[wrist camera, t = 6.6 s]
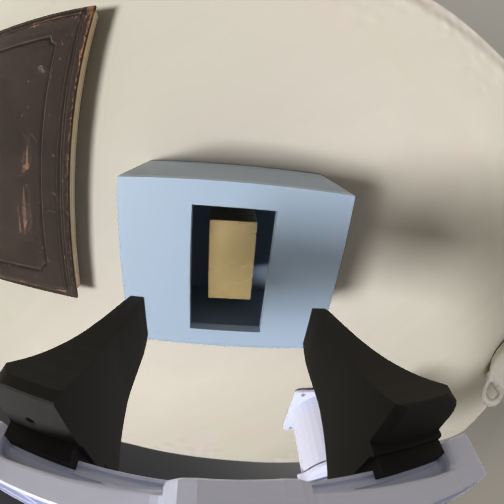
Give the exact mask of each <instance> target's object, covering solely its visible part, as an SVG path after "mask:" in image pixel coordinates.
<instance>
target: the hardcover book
mask: <svg viewBox="0 0 504 504" xmlns="http://www.w3.org/2000/svg"><path fill="white" fill-rule="evenodd" d="M95 10H96V6H89V7H84V8H78V9H73V10H69V11H64V12H60V13H56V14H52V15H48V16H44V17H41V18H37V19H34V20H31V21H27V22H24V23H21V24H18V25H15V26H12V27H10V28H7V29H4V30H2V31H0V279H2V280H6V281H10V282H13V283H17V284H21V285H25V286H28V287H32V288H36V289H40V290H44V291H49V292H53V293H57V294H62V295H66V296H70V297H75V298H77V297H78V292H77V288H78V287H79V286H80V275H79V266H78V256H77V243H76V227H75V158H76V142H77V130H78V120H79V111H80V103H81V96H82V89H83V83H84V77H85V72H86V67H87V62H88V57H89V52H90V48H91V43H92V39H93V35H94V31H95V28H96V24H97V20H98V17H99V15H97V12H95Z"/></svg>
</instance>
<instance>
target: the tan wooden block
mask: <svg viewBox="0 0 504 504" xmlns="http://www.w3.org/2000/svg"><path fill="white" fill-rule="evenodd" d="M256 232H257V219H256V214H255V210H254V209H247V208H235V207H222V206H213V209H212V214H211V218H210V233H209V275H208V298H227V299H250V297H251V286H252V275H253V265H254V254H255V243H256Z"/></svg>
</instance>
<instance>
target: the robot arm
mask: <svg viewBox="0 0 504 504" xmlns="http://www.w3.org/2000/svg"><path fill="white" fill-rule="evenodd" d="M147 337H148V329H147V320H146V311H145V301H144V297H140V296H130V297H128V298H127V299H126V300H125V301H123V302H122V303H121V304H120V305H118V306H117V307H116V308H115V309H114V310H112V311H111V312H110V313H109V314H107V315H106V316H105V317H104V318H102V319H101V320H100V321H98V322H97V323H95V324H94V325H93V326H91V327H90V328H89V329H87V330H86V331H84V332H83V333H81V334H79V335H78V336H76V337H74V338H73V339H71V340H69V341H67V342H65V343H63V344H61V345H59V346H57V347H55V348H53V349H51V350H48V351H46V352H43V353H41V354H38V355H35V356H32V357H28V358H25V359H21V360H17V361H13V362H8V363H6V364H5V366H4V367H3V369H2V370H1V372H0V406H1V408H2V409H3V410H4V412H5V413H6V415H7V416H8V417H9V419H10V420H11V422H10V424H9V426H7V425H6V424H4V423H3V422H2V421H0V490H2V491H4V492H5V493H7V494H9V495H11V496H12V497H14V498H16V499H18V500H19V501H21V502H23V503H25V504H447V503H449V502H451V501H453V500H454V499H456V498H457V497H458V496H460V495H461V494H463V493H464V492H466V491H467V490H468V489H470V488H471V487H473V486H474V485H475V484H477V483H478V482H479V481H480V480H482V479H483V478H484V477H485V476H486V472H485V470H484V468H483V466H482V464H481V462H480V460H479V458H478V456H477V454H476V452H475V450H474V448H473V446H472V445H471V443H470V441H469V439H468V437H467V436H466V434H462V435H459V436H457V437H454V438H452V439H449V440H447V441H445V442H444V443H442V444H440V442H439V440H438V439H439V438H440V437H441V433H440V431H439V428H440V427H441V426H442V425H443V424H444V422H445V421H446V420H447V419H448V418H449V416H450V415H451V414H452V412H453V411H454V409H455V407H456V399H455V397H454V396H453V394H452V392H451V391H450V389H449V388H448V386H447V385H444V384H441V383H438V382H435V381H431V380H428V379H426V378H423V377H421V376H418V375H416V374H414V373H411V372H409V371H407V370H405V369H403V368H401V367H399V366H398V365H396V364H394V363H392V362H391V361H389V360H387V359H386V358H384V357H383V356H381V355H380V354H378V353H377V352H375V351H374V350H373V349H371V348H370V347H369V346H367V345H366V344H365V343H364V342H362V341H361V340H360V339H359V338H358V337H356V336H355V335H354V334H353V333H352V332H351V331H350V330H348V329H347V328H346V327H345V326H344V325H343V324H342V323H341V322H340V321H339V320H338V319H337V318H336V317H334V316H333V315H332V314H331V313H330V312H329V311H328V310H327V309H325V308H312V311H311V315H310V319H309V323H308V326H307V330H306V334H305V337H304V341H303V348H304V355H305V361H306V365H307V369H308V372H309V375H310V379H311V382H312V385H313V388H314V390H297V391H295V392H294V395H293V398H292V401H291V404H290V407H289V410H288V412H287V415H286V418H285V421H284V424H283V429H284V430H292V429H294V434H295V440H296V445H297V450H298V456H299V461H300V467H301V472H302V473H301V474H298V475H297V477H298V479H265V480H225V479H205V478H177V479H172V480H169V481H168V480H161V479H154V478H149V477H143V476H138V475H133V474H128V473H123V472H119V471H118V468H119V454H120V445H121V437H122V430H123V424H124V417H125V412H126V407H127V402H128V398H129V395H130V391H131V389H132V386H133V383H134V380H135V377H136V374H137V372H138V369H139V366H140V363H141V360H142V357H143V355H144V351H145V347H146V342H147Z"/></svg>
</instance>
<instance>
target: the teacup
mask: <svg viewBox="0 0 504 504" xmlns="http://www.w3.org/2000/svg"><path fill="white" fill-rule="evenodd" d="M490 365H491V366H490V370H489V372H488V373H487V380H486V382H485V384H484V386H483V389H482V394H481V398H482V401H483V403H484V404H485V405H487V406H490V407H492V406H495V405H497V404H498V403H499V402H500V401H501V400H503V403H504V342H503V343H502V344H501V346H500V347H499V348H498V349H497V351H496V352H495V354H494V356H493V357H492V360H491V364H490ZM490 383H492V385H493V386H494V388H495V389H496V391H497V393H498V397H497V398H496V399H490V398H489V397H488V395H487V389H488V387H489V385H490Z"/></svg>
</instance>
